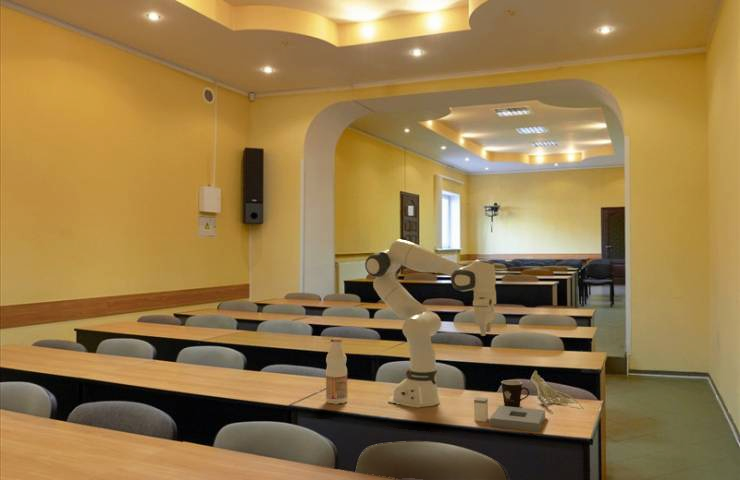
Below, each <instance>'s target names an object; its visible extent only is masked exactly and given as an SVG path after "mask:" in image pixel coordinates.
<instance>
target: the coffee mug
mask: <svg viewBox="0 0 740 480" xmlns="http://www.w3.org/2000/svg"><path fill="white" fill-rule="evenodd" d="M500 383H501V390H502V397H503V404H504V405H503V406H508V407H518V408H521V402H522V401H523V400H525V399H527V398H528V397H529V395H530V391H529V389H528V388H527V387H524V386H523V382H522V381H520V380H514V379H506V380H505V379H504V380H502V381H501V382H500ZM522 386H523V387H522ZM523 390H526V392H527V394H526V396H524V397H523V398H522V391H523Z"/></svg>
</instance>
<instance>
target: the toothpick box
mask: <svg viewBox="0 0 740 480" xmlns="http://www.w3.org/2000/svg"><path fill="white" fill-rule="evenodd" d="M488 399H489V398H487V397H478V396H477V397H475V399H474V400H473V407H474V408H473V411H474V413H473V414H474V419H473V420H474V421H478V422H485V423H486V421H487V420H488V419H489V402H488Z"/></svg>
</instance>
